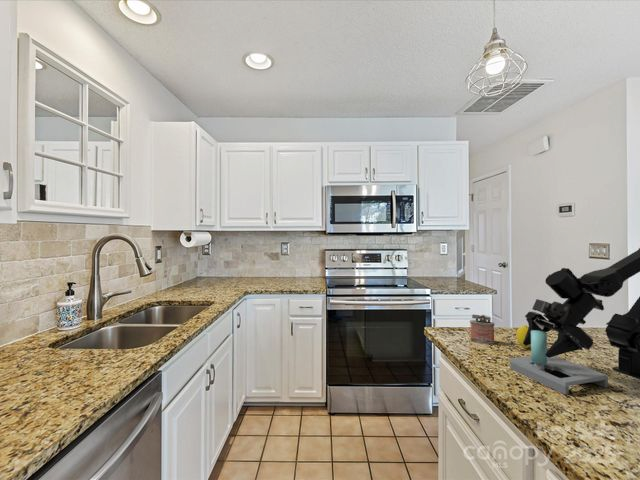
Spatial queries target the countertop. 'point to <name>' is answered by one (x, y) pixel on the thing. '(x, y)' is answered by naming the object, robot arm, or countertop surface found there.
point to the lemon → (522, 335)
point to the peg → (539, 348)
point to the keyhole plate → (561, 365)
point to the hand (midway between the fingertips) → (535, 350)
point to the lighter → (482, 330)
